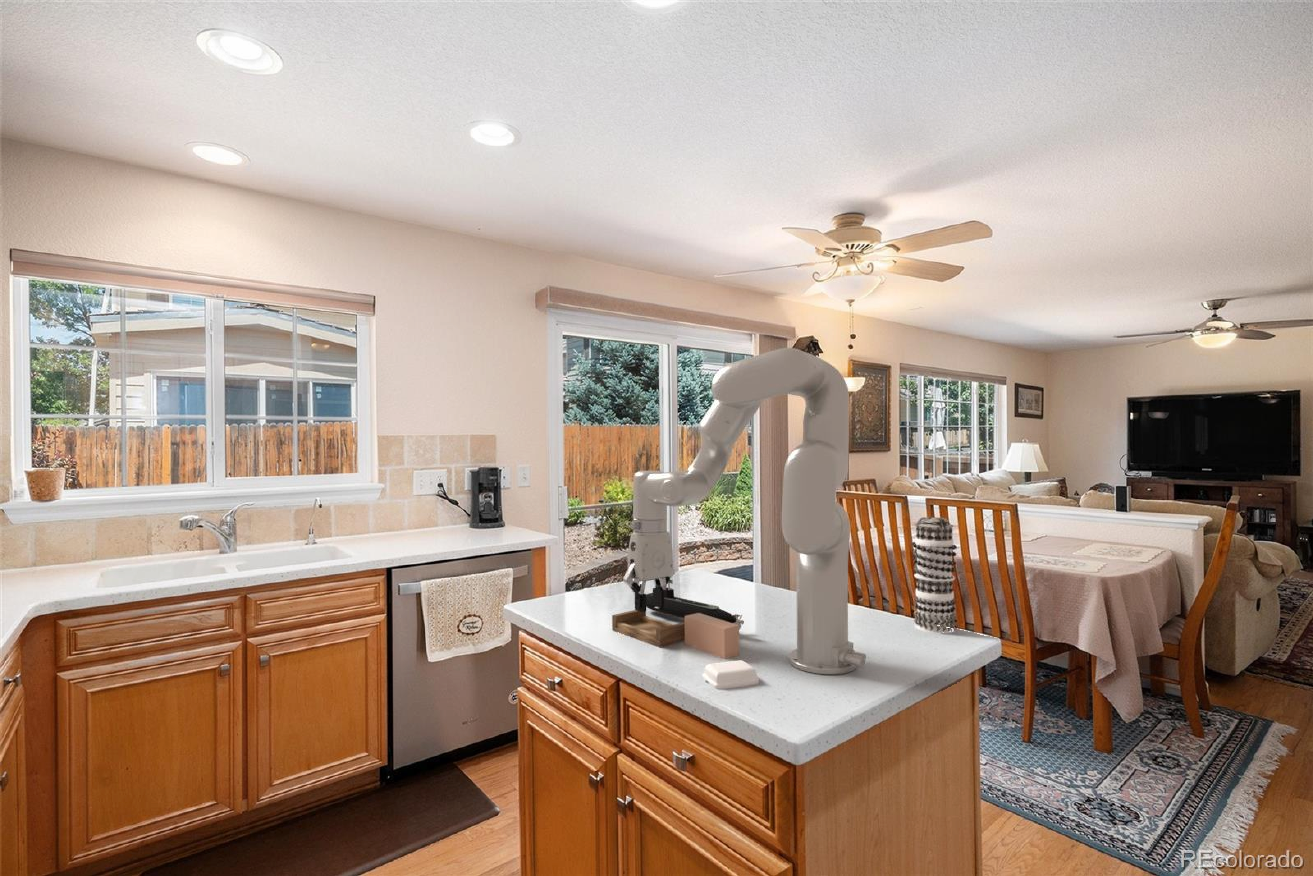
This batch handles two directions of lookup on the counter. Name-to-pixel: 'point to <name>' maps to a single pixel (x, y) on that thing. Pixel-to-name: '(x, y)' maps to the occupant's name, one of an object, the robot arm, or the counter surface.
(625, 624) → the wooden tray
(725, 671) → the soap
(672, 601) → the submarine model
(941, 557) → the decorative candle
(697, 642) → the clay block
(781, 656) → the counter surface
